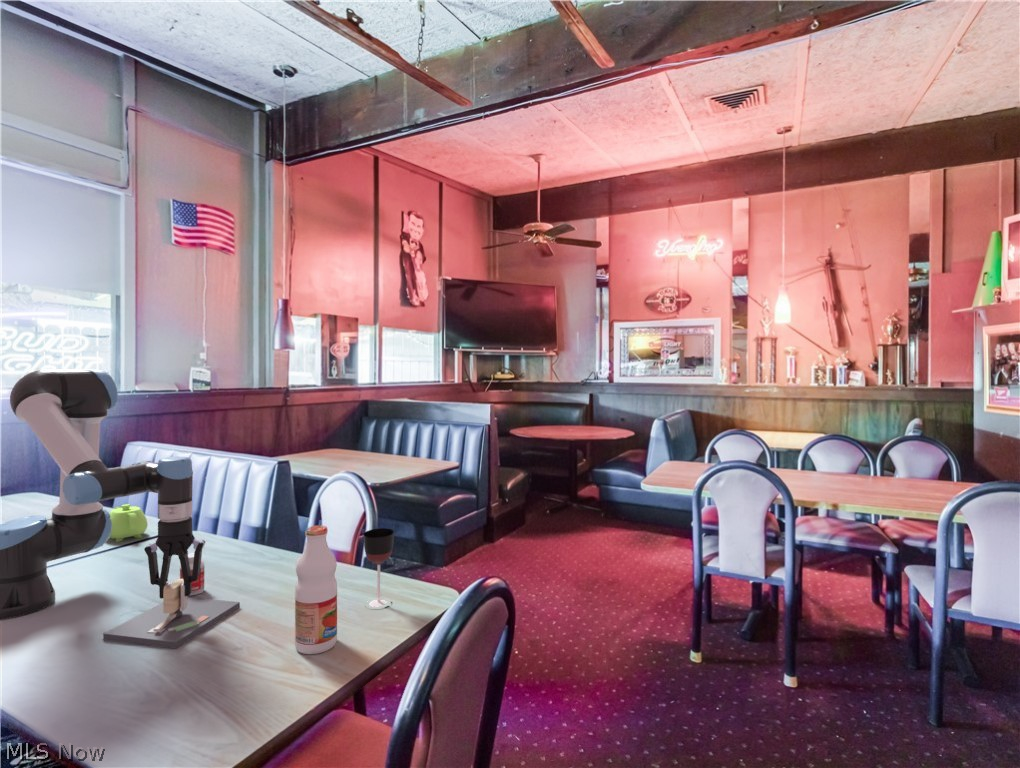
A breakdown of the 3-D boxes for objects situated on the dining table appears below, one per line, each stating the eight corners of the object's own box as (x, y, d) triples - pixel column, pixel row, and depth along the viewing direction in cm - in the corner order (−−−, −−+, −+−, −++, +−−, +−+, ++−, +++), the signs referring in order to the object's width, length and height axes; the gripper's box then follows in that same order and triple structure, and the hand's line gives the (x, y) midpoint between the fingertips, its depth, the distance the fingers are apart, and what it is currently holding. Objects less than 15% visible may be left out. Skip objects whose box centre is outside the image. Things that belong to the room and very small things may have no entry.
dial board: (103, 639, 129) (103, 632, 129) (176, 601, 150) (176, 595, 150) (175, 648, 125) (175, 641, 125) (239, 607, 147) (239, 601, 147)
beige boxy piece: (177, 609, 141) (177, 578, 141) (188, 609, 141) (188, 578, 141) (150, 633, 129) (149, 599, 128) (162, 632, 129) (162, 598, 129)
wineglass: (399, 600, 152) (400, 530, 152) (380, 612, 144) (380, 539, 144) (377, 595, 156) (377, 526, 155) (356, 607, 148) (357, 535, 147)
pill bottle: (205, 593, 155) (205, 556, 155) (180, 598, 152) (180, 560, 152) (203, 586, 160) (203, 549, 160) (179, 591, 157) (179, 553, 157)
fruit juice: (298, 637, 131) (298, 523, 130) (338, 633, 133) (339, 521, 132) (291, 657, 122) (291, 535, 121) (335, 653, 124) (335, 532, 123)
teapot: (97, 536, 207) (96, 503, 207) (137, 528, 217) (137, 497, 217) (113, 547, 194) (112, 512, 194) (155, 538, 205) (155, 505, 204)
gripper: (133, 524, 131) (133, 619, 132) (206, 520, 136) (207, 611, 136) (144, 516, 138) (144, 606, 139) (214, 512, 143) (214, 599, 143)
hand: (175, 608), depth 137 cm, fingers closed on beige boxy piece, 3 cm apart
